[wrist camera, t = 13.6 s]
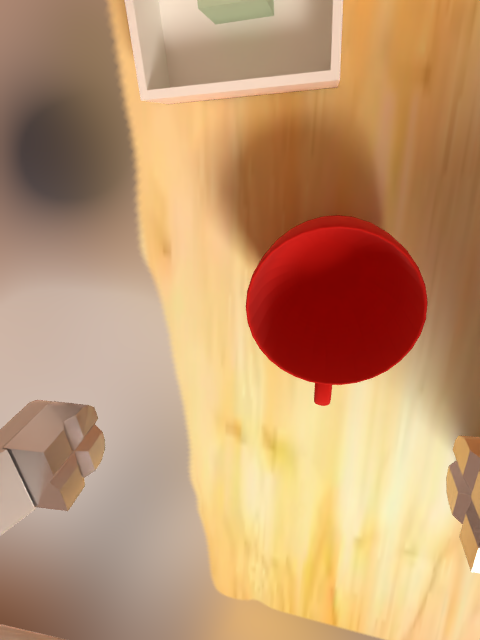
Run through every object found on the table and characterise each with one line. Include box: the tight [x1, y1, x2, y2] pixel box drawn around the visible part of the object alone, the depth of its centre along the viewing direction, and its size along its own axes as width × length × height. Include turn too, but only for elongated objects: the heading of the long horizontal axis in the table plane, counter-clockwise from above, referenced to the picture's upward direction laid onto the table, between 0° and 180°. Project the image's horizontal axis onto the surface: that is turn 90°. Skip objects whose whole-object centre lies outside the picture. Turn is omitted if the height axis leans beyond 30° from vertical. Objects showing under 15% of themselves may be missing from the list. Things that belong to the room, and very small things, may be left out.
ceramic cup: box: [246, 215, 427, 406], centre depth 33 cm, size 13×17×10 cm
